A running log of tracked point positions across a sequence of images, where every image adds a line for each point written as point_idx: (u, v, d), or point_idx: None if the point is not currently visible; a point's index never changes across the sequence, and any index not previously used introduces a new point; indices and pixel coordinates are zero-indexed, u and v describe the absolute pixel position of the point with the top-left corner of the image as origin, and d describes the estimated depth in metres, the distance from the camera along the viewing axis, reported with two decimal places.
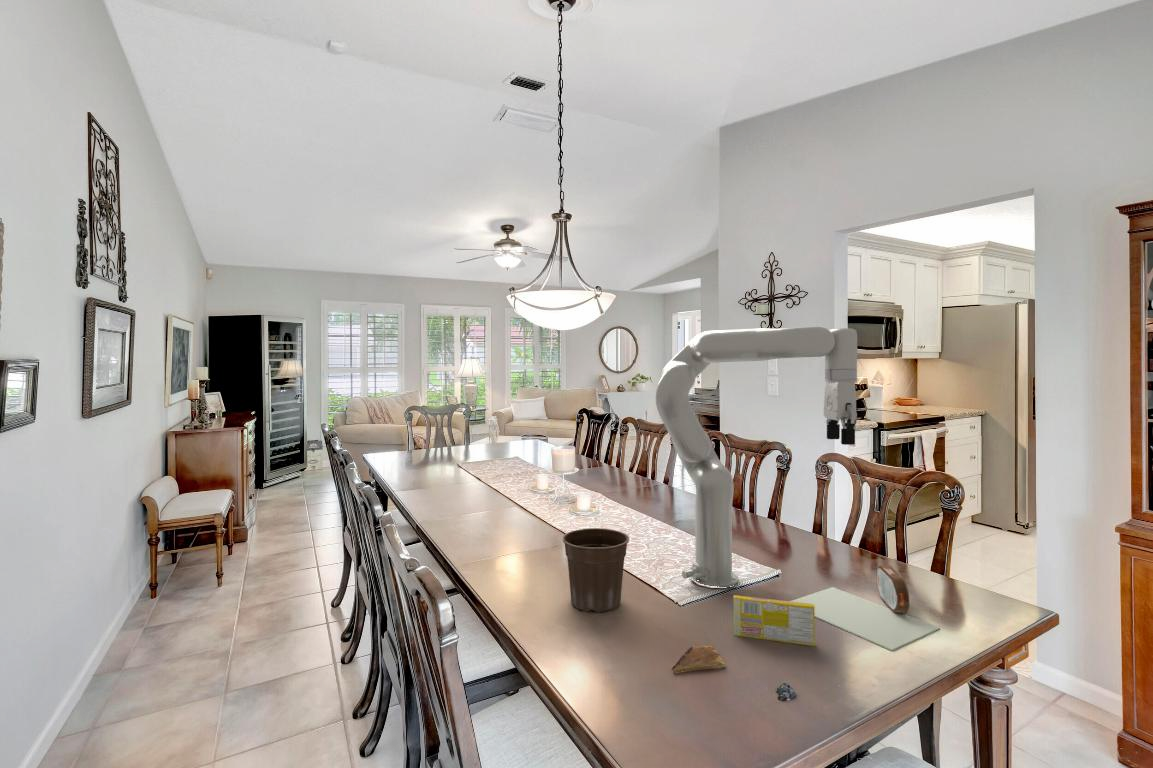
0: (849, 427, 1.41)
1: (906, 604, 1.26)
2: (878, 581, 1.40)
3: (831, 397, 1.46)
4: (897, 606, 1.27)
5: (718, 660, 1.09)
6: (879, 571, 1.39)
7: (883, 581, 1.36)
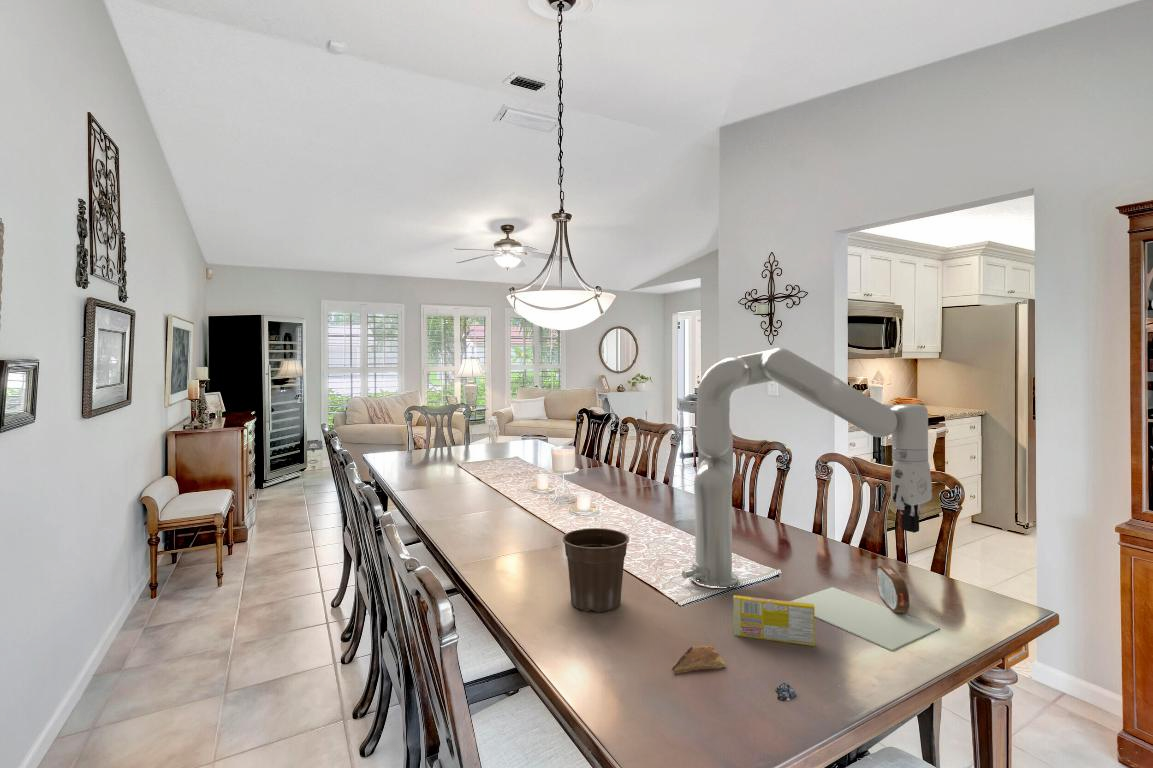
0: None
1: (906, 604, 1.26)
2: (878, 581, 1.40)
3: (925, 478, 1.34)
4: (897, 606, 1.27)
5: (718, 660, 1.09)
6: (879, 571, 1.39)
7: (883, 581, 1.36)
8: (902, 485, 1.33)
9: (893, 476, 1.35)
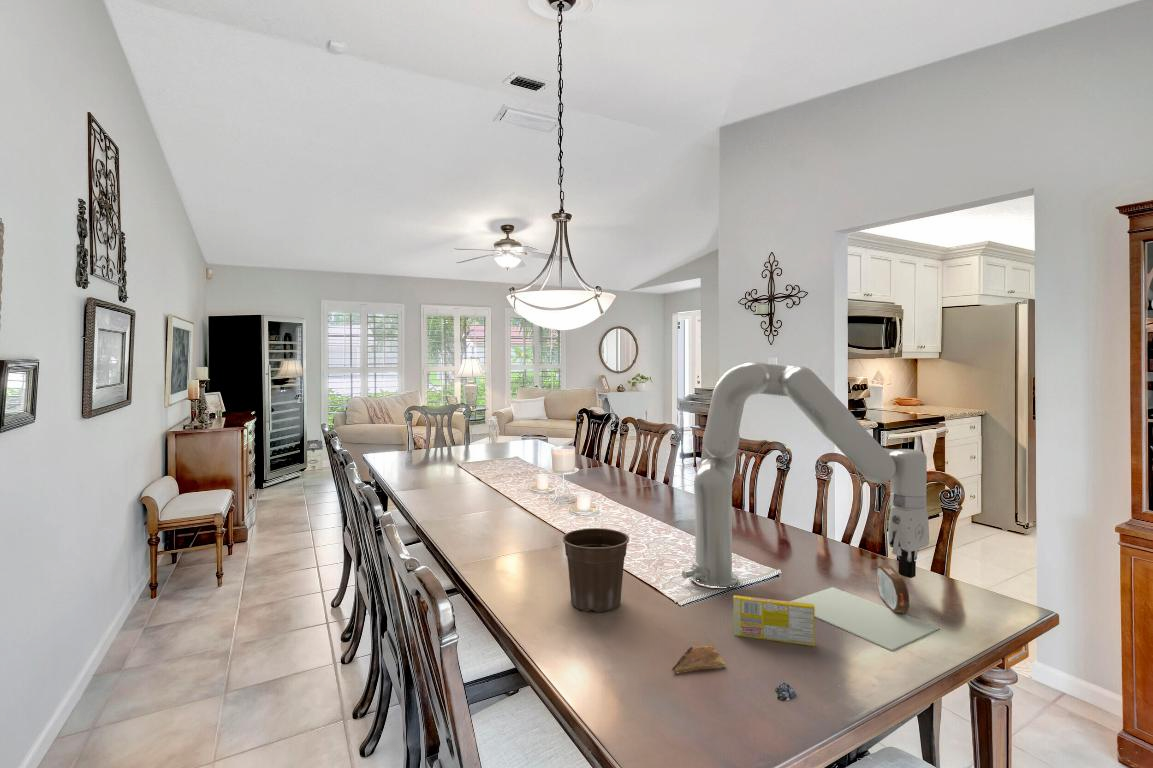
0: None
1: (906, 604, 1.26)
2: (878, 581, 1.40)
3: (922, 525, 1.35)
4: (897, 606, 1.27)
5: (718, 660, 1.09)
6: (879, 571, 1.39)
7: (883, 581, 1.36)
8: (899, 531, 1.33)
9: (891, 521, 1.35)
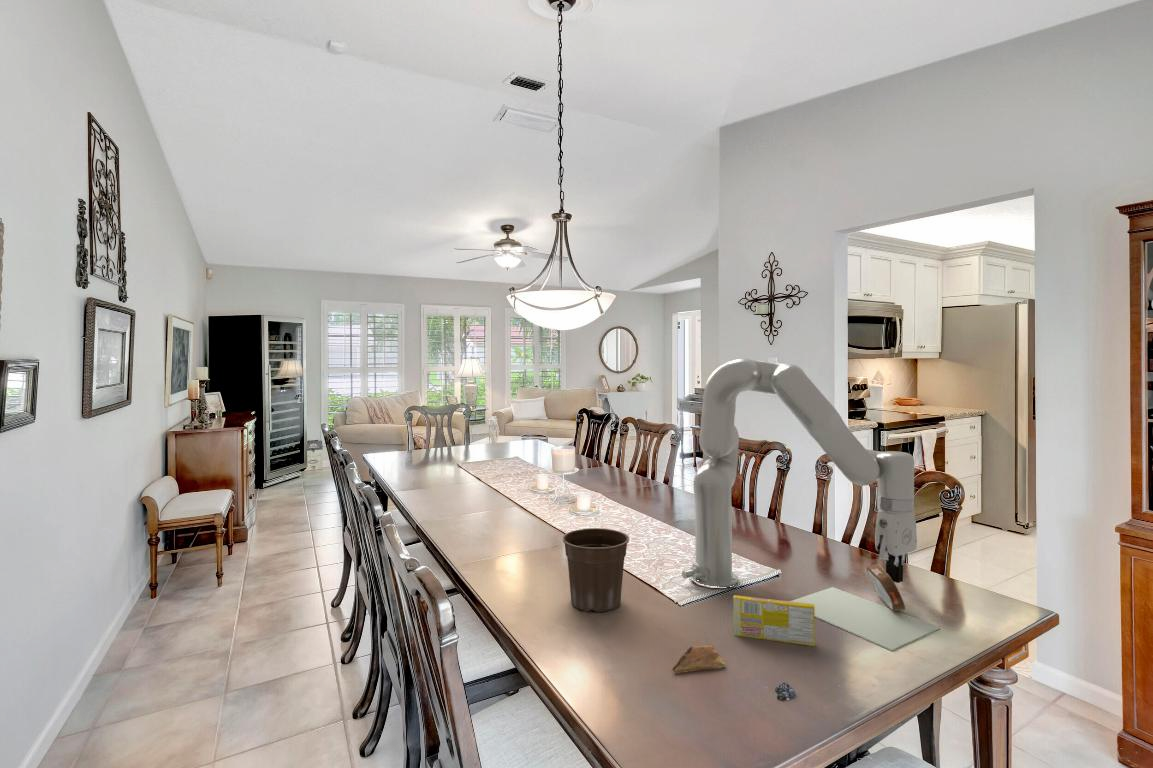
0: None
1: (900, 601, 1.27)
2: (873, 582, 1.40)
3: (910, 528, 1.32)
4: (893, 606, 1.27)
5: (718, 660, 1.09)
6: (869, 572, 1.39)
7: (875, 582, 1.36)
8: (886, 535, 1.30)
9: (878, 525, 1.32)
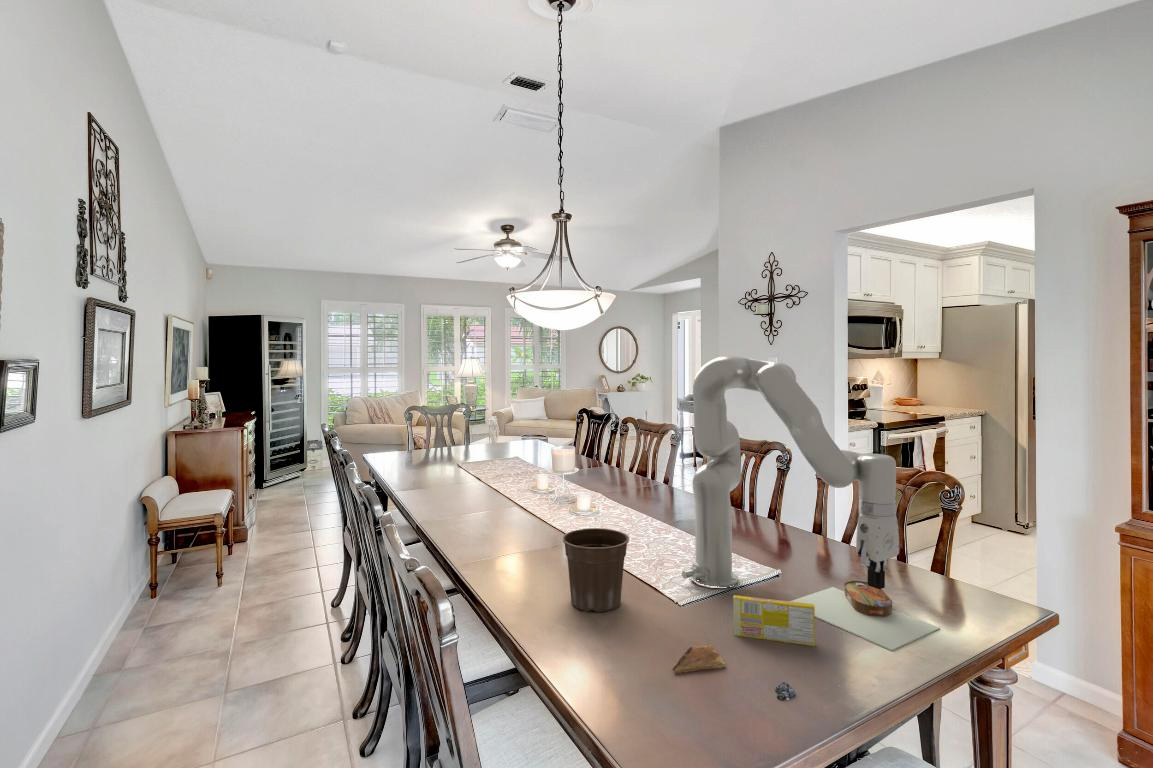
0: None
1: (881, 608, 1.27)
2: None
3: (891, 533, 1.28)
4: (884, 615, 1.28)
5: (718, 660, 1.09)
6: None
7: None
8: (867, 540, 1.27)
9: (859, 530, 1.29)
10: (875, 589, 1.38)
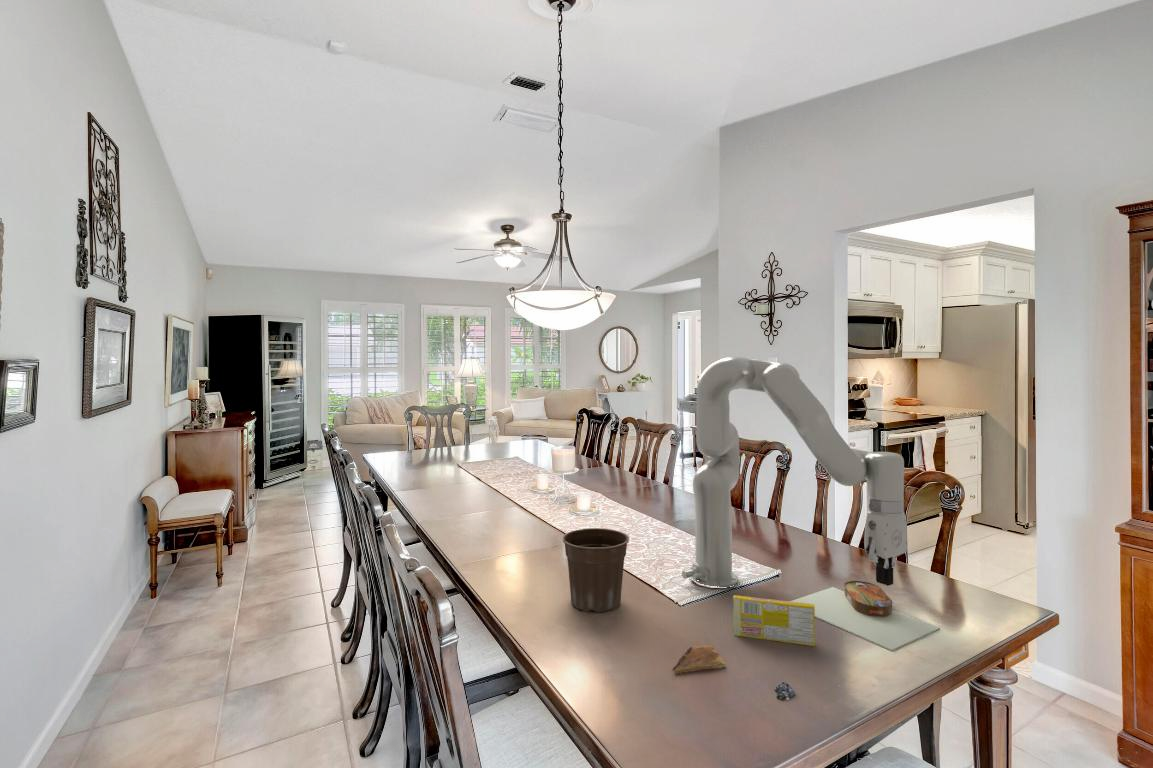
0: None
1: (881, 608, 1.27)
2: None
3: (899, 530, 1.30)
4: (884, 615, 1.28)
5: (718, 660, 1.09)
6: None
7: None
8: (875, 537, 1.28)
9: (867, 527, 1.30)
10: (875, 589, 1.38)
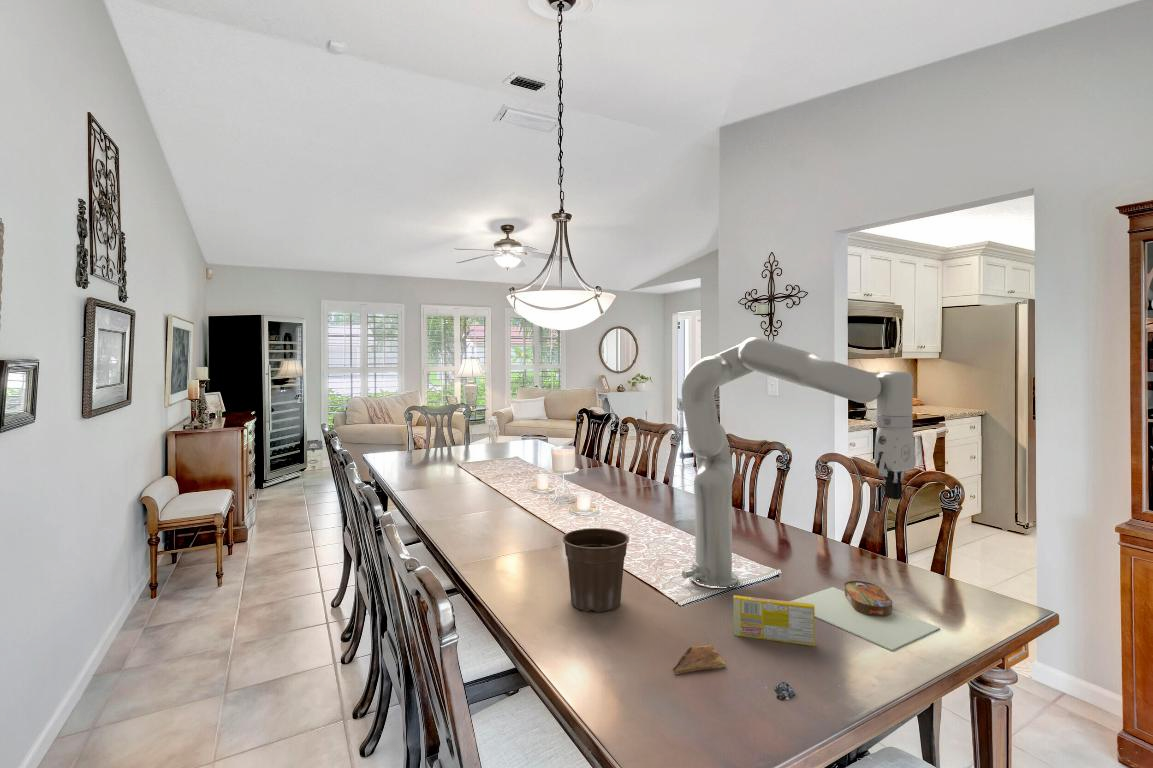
0: None
1: (881, 608, 1.27)
2: None
3: (908, 446, 1.34)
4: (884, 615, 1.28)
5: (718, 660, 1.09)
6: None
7: None
8: (885, 451, 1.33)
9: (877, 443, 1.35)
10: (875, 589, 1.38)
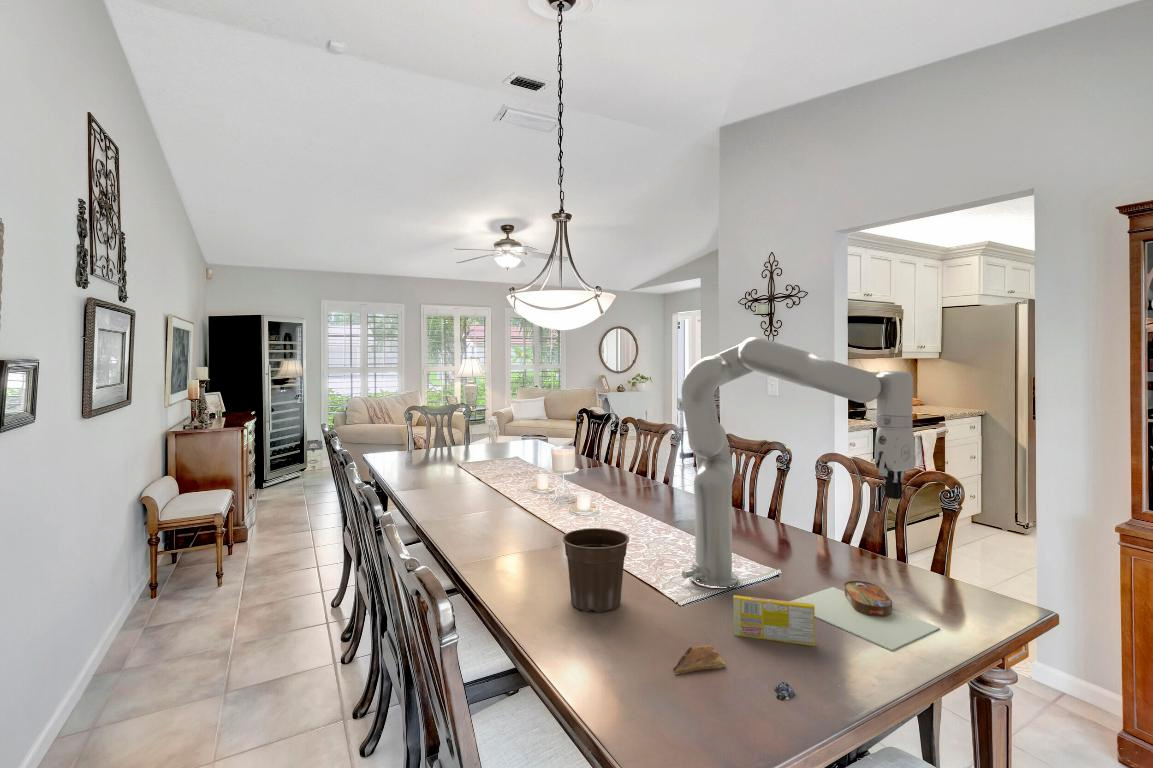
0: None
1: (881, 608, 1.27)
2: None
3: (908, 445, 1.34)
4: (884, 615, 1.28)
5: (718, 660, 1.09)
6: None
7: None
8: (885, 451, 1.33)
9: (877, 442, 1.35)
10: (875, 589, 1.38)
